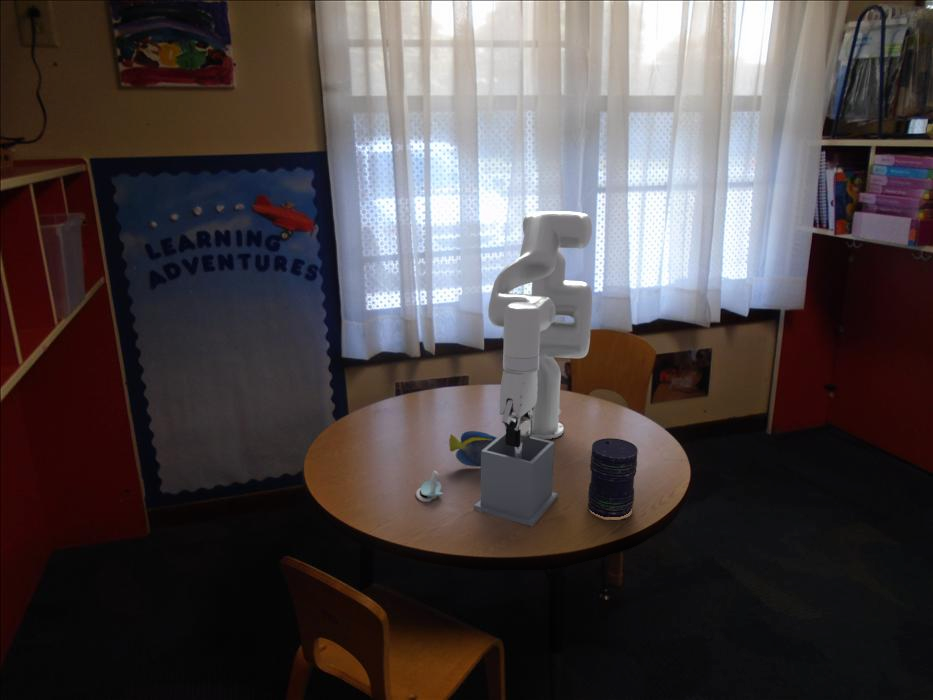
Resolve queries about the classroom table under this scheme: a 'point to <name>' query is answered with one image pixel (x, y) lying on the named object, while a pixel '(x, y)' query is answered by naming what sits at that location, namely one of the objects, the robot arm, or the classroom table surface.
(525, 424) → the plunger
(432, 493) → the pacifier
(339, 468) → the classroom table surface
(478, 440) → the tropical fish figurine
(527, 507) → the press housing
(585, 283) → the robot arm
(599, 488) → the dark blue cylinder
